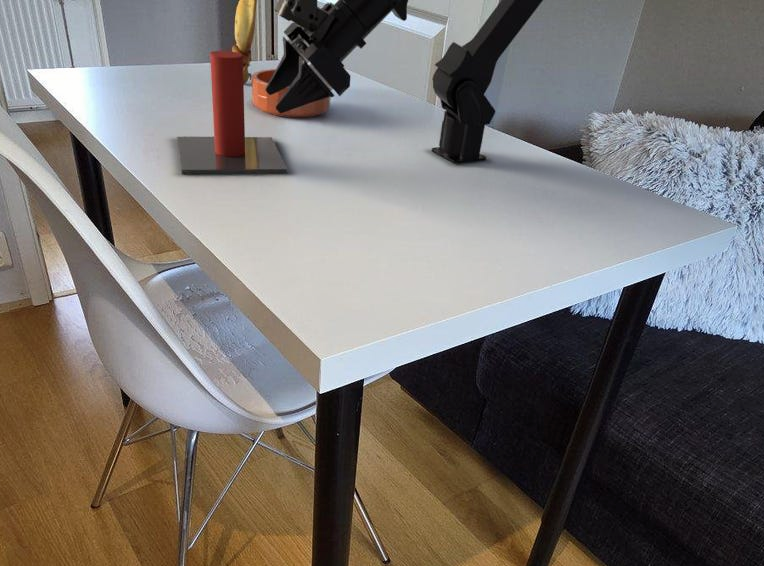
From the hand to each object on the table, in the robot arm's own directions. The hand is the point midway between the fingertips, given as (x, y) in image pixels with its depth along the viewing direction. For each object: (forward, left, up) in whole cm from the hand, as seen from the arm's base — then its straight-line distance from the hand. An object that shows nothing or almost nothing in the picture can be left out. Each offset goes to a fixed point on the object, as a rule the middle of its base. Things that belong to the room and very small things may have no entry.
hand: (272, 101), depth 92 cm
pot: (+23, -14, -8) cm, 28 cm away
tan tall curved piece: (+40, -12, -8) cm, 42 cm away
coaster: (+2, +6, -8) cm, 10 cm away
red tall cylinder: (+2, +6, -7) cm, 9 cm away
